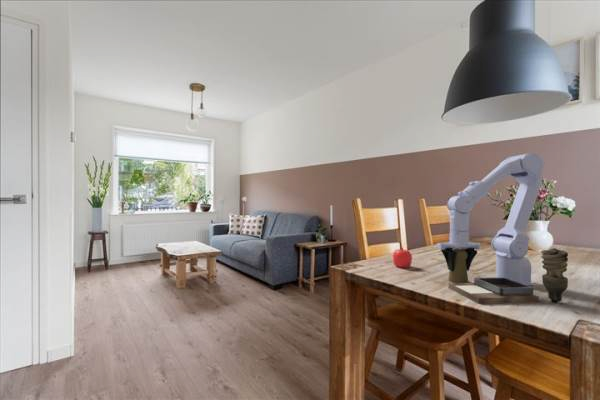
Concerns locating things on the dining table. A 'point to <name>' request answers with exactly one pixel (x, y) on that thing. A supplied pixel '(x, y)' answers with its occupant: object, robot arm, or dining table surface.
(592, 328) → the dining table surface
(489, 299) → the walnut board
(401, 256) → the apple
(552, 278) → the light bulb
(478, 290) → the mat
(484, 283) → the dark grey tray
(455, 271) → the cork
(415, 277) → the dining table surface
